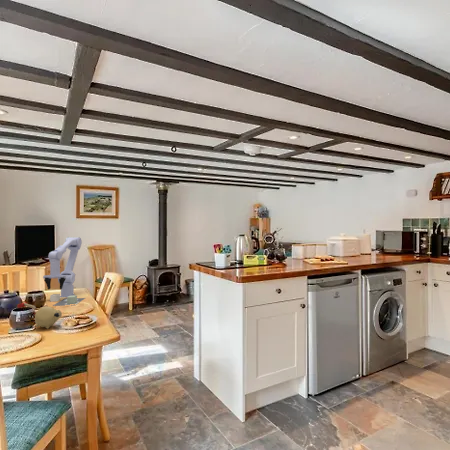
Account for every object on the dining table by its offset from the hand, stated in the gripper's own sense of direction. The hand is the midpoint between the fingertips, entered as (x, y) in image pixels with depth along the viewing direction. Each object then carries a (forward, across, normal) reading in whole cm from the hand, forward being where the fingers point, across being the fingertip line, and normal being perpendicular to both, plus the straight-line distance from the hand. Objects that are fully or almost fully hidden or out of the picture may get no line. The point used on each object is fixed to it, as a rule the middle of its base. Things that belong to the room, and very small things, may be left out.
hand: (55, 289), depth 213 cm
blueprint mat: (+8, +11, -4) cm, 14 cm away
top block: (+8, 0, 0) cm, 8 cm away
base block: (+8, +14, -8) cm, 18 cm away
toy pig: (+9, +20, -56) cm, 60 cm away
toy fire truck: (+9, +6, -44) cm, 45 cm away
